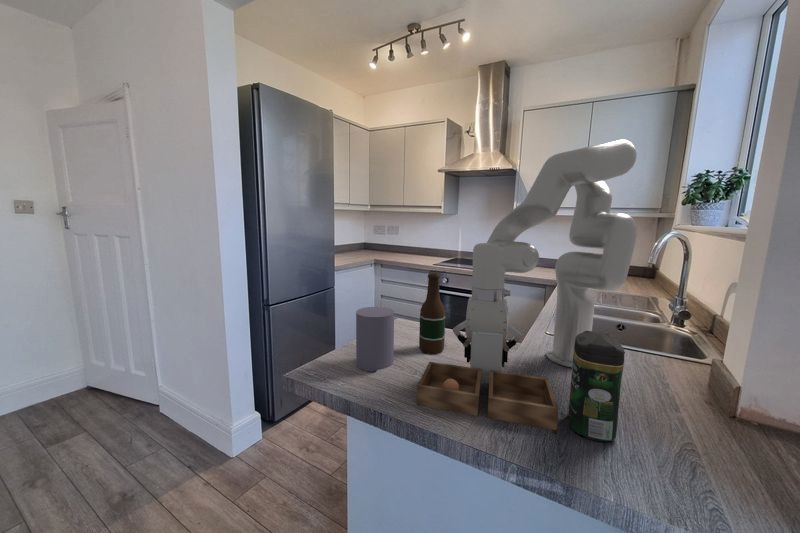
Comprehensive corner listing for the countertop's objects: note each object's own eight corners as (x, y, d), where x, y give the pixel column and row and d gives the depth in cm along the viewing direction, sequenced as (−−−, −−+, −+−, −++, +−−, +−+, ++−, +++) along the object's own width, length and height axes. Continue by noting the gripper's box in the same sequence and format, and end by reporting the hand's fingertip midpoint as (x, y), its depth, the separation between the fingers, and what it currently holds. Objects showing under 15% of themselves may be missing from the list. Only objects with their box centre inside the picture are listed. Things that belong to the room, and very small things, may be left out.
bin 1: (480, 388, 76) (481, 369, 76) (477, 419, 64) (478, 396, 64) (428, 380, 80) (429, 361, 79) (416, 408, 68) (417, 386, 67)
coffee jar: (565, 409, 68) (573, 325, 66) (609, 419, 65) (619, 331, 63) (569, 436, 60) (578, 340, 57) (619, 449, 56) (631, 348, 54)
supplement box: (501, 385, 77) (503, 335, 75) (470, 382, 78) (471, 333, 76) (498, 371, 84) (500, 325, 82) (469, 369, 85) (471, 323, 83)
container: (368, 353, 96) (368, 305, 94) (399, 360, 91) (400, 309, 89) (348, 367, 87) (348, 313, 85) (382, 375, 82) (382, 319, 80)
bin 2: (546, 399, 72) (548, 378, 71) (556, 434, 60) (558, 409, 60) (488, 390, 76) (489, 370, 75) (487, 421, 64) (488, 397, 63)
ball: (459, 392, 73) (460, 377, 73) (457, 400, 70) (458, 384, 69) (443, 389, 74) (444, 374, 74) (441, 397, 71) (441, 382, 70)
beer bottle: (445, 355, 96) (448, 276, 92) (419, 354, 96) (421, 275, 92) (442, 345, 103) (445, 272, 100) (418, 344, 103) (420, 271, 100)
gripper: (524, 292, 79) (521, 360, 81) (453, 288, 84) (452, 352, 86) (527, 300, 72) (523, 373, 74) (449, 295, 77) (448, 364, 79)
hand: (485, 362), depth 80 cm, fingers closed on supplement box, 7 cm apart
